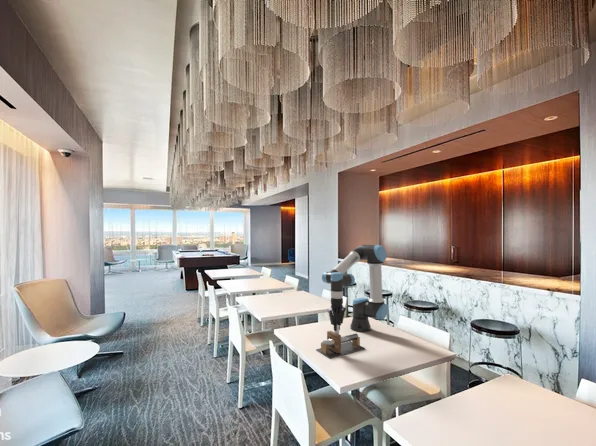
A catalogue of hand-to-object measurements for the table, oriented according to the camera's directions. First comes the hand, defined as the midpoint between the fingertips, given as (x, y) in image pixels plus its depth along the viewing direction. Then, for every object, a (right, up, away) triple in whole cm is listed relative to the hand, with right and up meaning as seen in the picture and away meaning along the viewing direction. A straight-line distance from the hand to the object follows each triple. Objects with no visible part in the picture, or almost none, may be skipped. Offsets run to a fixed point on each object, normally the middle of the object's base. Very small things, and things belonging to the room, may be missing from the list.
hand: (336, 335), depth 181 cm
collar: (-2, -8, -1) cm, 9 cm away
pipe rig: (+3, -9, +1) cm, 10 cm away
